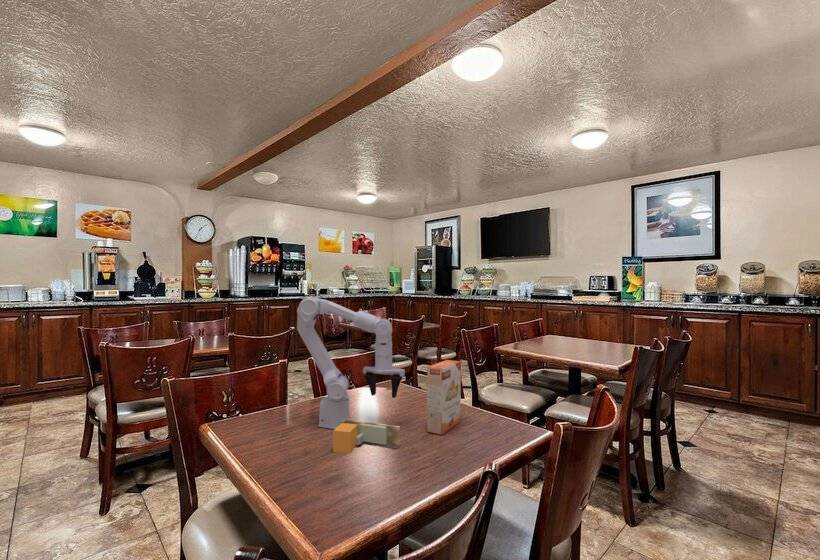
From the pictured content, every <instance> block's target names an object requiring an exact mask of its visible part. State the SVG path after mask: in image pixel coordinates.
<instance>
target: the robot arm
mask: <svg viewBox="0 0 820 560" xmlns="http://www.w3.org/2000/svg"><path fill="white" fill-rule="evenodd" d="M296 314H297V318H296V320H297V321H296V331H297V332H298V334H299V336H300V338H301V339H302V341H303V343H304V344H305V346H306V348H307V350H308V351H309V354H310V355H311V357H312V359H313V361H314V362H315V365H316V366H317V368H318V370H319V371H320V374H321V375H322V377H323V383H324V385H325V387H326V395H327V396H324V397H322V399H321V400H320V403H319V407H318V408H319V411H318V413H319V415H318V416H319V417H318V419H319V420H318V422H319V424H317V426H318V427H319V428H325V429H326V428H327V429H333V430H334V429H336V428H337V427H338V426H339V425H340V421H342V420H343V419H350V395H349V394H348V392H347V391H348V389H349V387H350V381H349V378H348V377H346V376H345V375H343V374H342V372H341V371H340V369H338V368H337V367H336V365H335V363H334V361H333V359H332V358H331V357H332V356H330V354H329V352H328V350H327V349H326V346H325V345H324V343H323V341H322V339H321V338H320V336H319V334H318V333H317V332H318V331H316V328H315V325H316V321H317V319H318V317H319V316H320V315H325V314H332V315H335V316H338V317H341V318H343V319H346V320H347V321H351V322H352V323H353V325H354V327H355V328H358V329H361V330H362V331H365V332H368V333H371V334H372V333H374V334H375V341H374V348H375V349H374V353H375V354H374V355H375V356H374V358H375V359H374V360H375V361H374V363H375V364H374V366H364V367H362V369H363V370H362V373H363V374H365V375H364V379H365V380H366V382H367V384H368V388H369V391H370V395H371V396H375V395H376V393H377V378H378V375H387V376H391V377H390V383H391V398H393V399H395V398H397V394H398V390H399V387H400V384H401V381H402V379H403V377H404V376H406V374H405V373H406V371H405V370H406V369H403V368H396V367H393V341H392V340H393V336H392V333H393V325H392V323H391V322H390V321H389V320H388V319H387V318H382V316H380V315H378V316H376V315H374V314H371V313H369V311H368V310H367V309H366V310H365V309H364V310H359V311H357V312H356V311H354V310H352V309H349V308H347V307H346V306H342V305H340V304H337V303H335V302H333V301H331V300H327V299H323V298H319V297H316V296H312V297H311V296H310V297H305V298H304V299H302V300H301V301H300V303H299V305H298V307H297V309H296Z"/></svg>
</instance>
